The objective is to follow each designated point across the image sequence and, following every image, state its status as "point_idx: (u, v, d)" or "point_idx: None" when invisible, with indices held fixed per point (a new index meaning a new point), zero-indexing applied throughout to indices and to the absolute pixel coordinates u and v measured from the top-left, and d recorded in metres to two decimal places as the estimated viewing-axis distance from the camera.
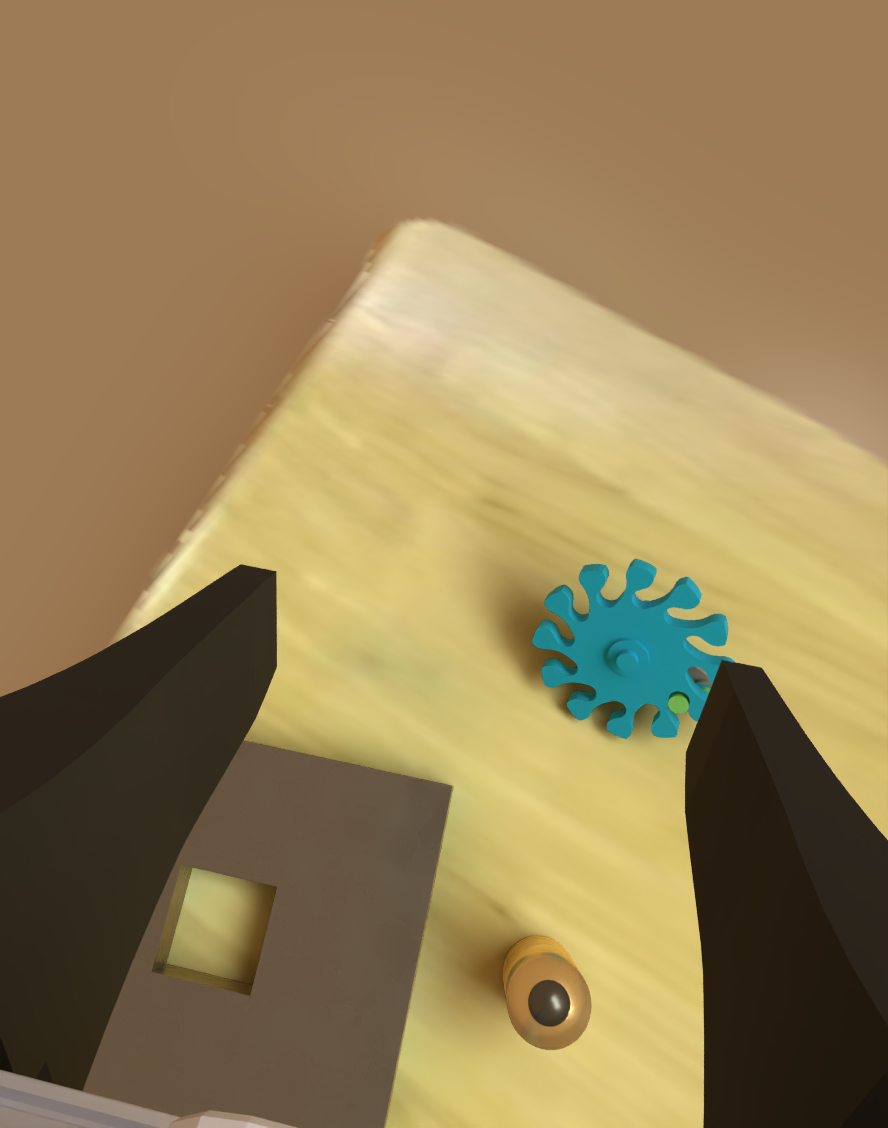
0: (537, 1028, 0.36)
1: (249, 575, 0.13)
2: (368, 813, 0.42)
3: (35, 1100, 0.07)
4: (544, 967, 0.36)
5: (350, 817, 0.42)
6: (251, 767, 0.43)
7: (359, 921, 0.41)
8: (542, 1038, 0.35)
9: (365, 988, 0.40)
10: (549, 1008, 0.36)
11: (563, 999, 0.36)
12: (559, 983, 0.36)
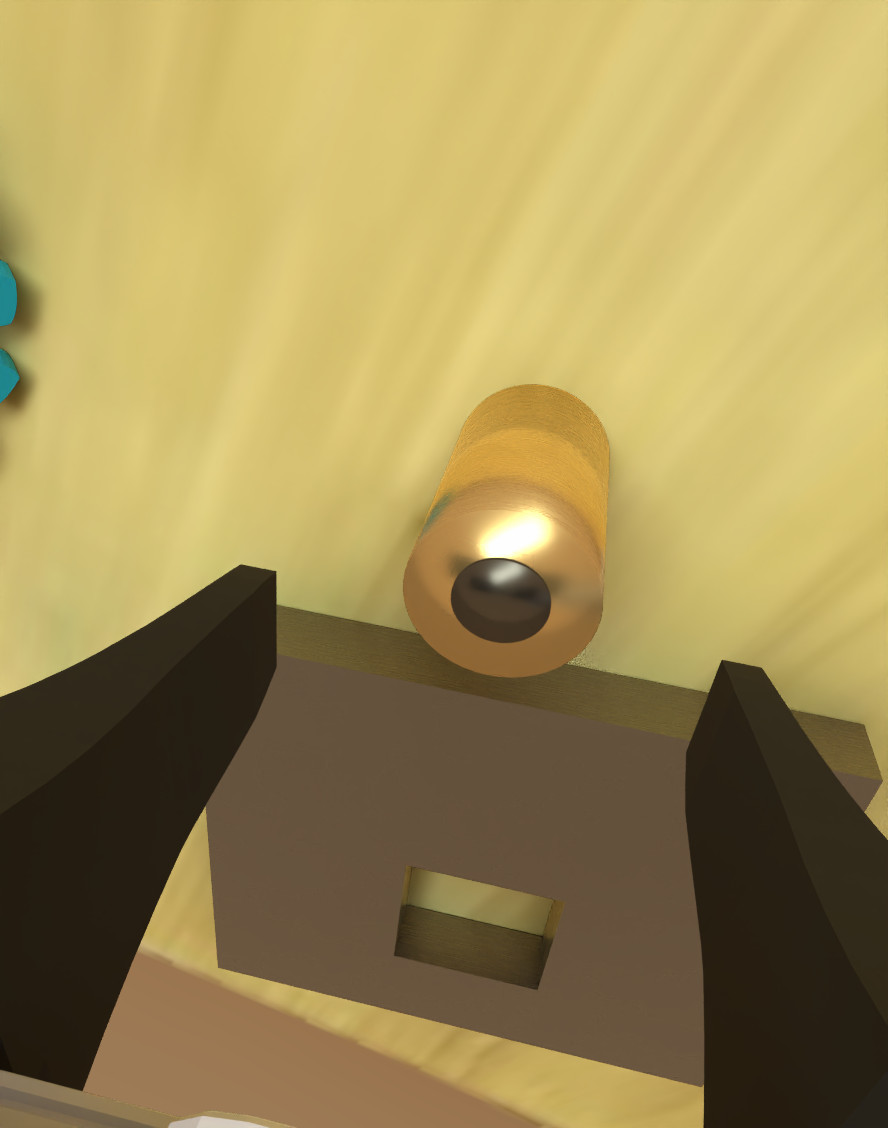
0: (557, 625, 0.15)
1: (249, 575, 0.13)
2: (271, 754, 0.24)
3: (35, 1100, 0.07)
4: (426, 604, 0.15)
5: (284, 776, 0.25)
6: (245, 881, 0.28)
7: (442, 774, 0.23)
8: (578, 616, 0.15)
9: (548, 771, 0.23)
10: (511, 603, 0.15)
11: (492, 570, 0.15)
12: (456, 576, 0.15)
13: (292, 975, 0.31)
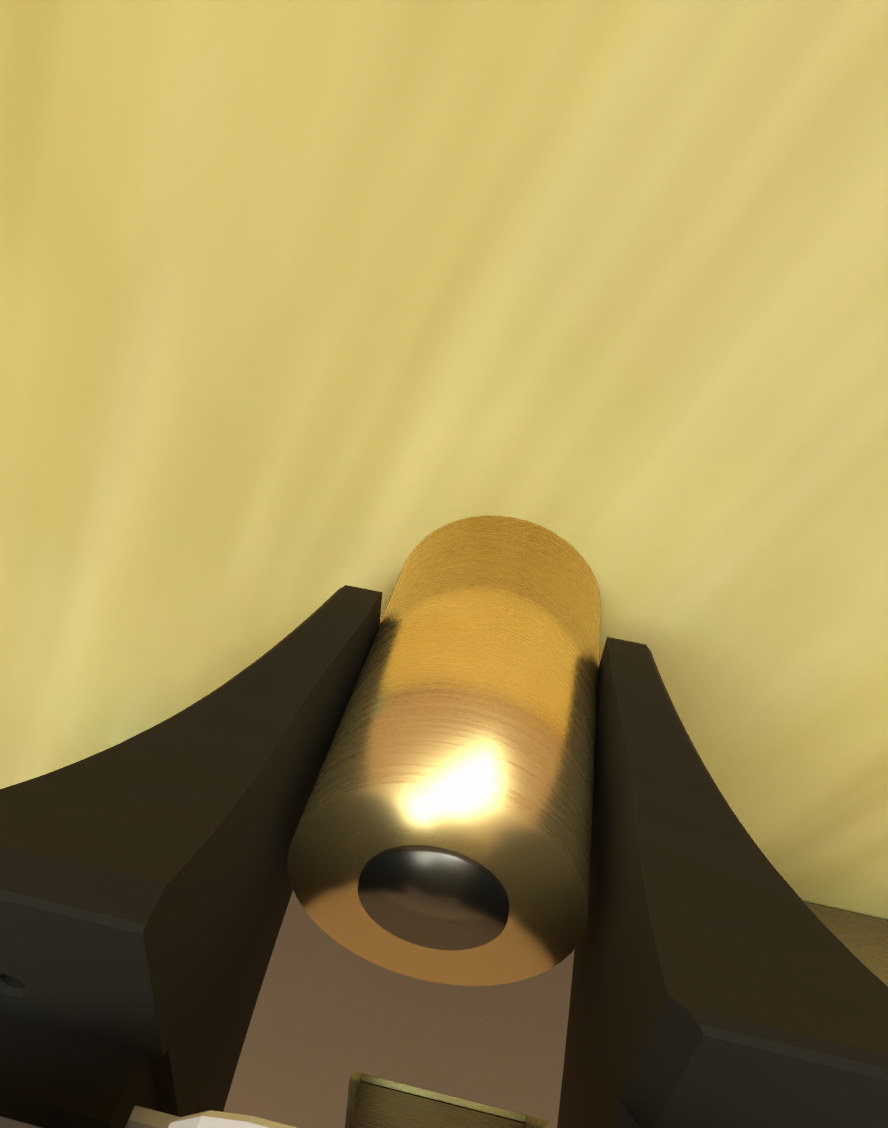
0: (519, 931, 0.10)
1: (358, 596, 0.13)
2: None
3: None
4: (324, 893, 0.10)
5: None
6: None
7: (389, 982, 0.18)
8: (551, 924, 0.10)
9: (523, 987, 0.18)
10: (448, 905, 0.10)
11: (417, 860, 0.10)
12: (365, 865, 0.10)
13: None
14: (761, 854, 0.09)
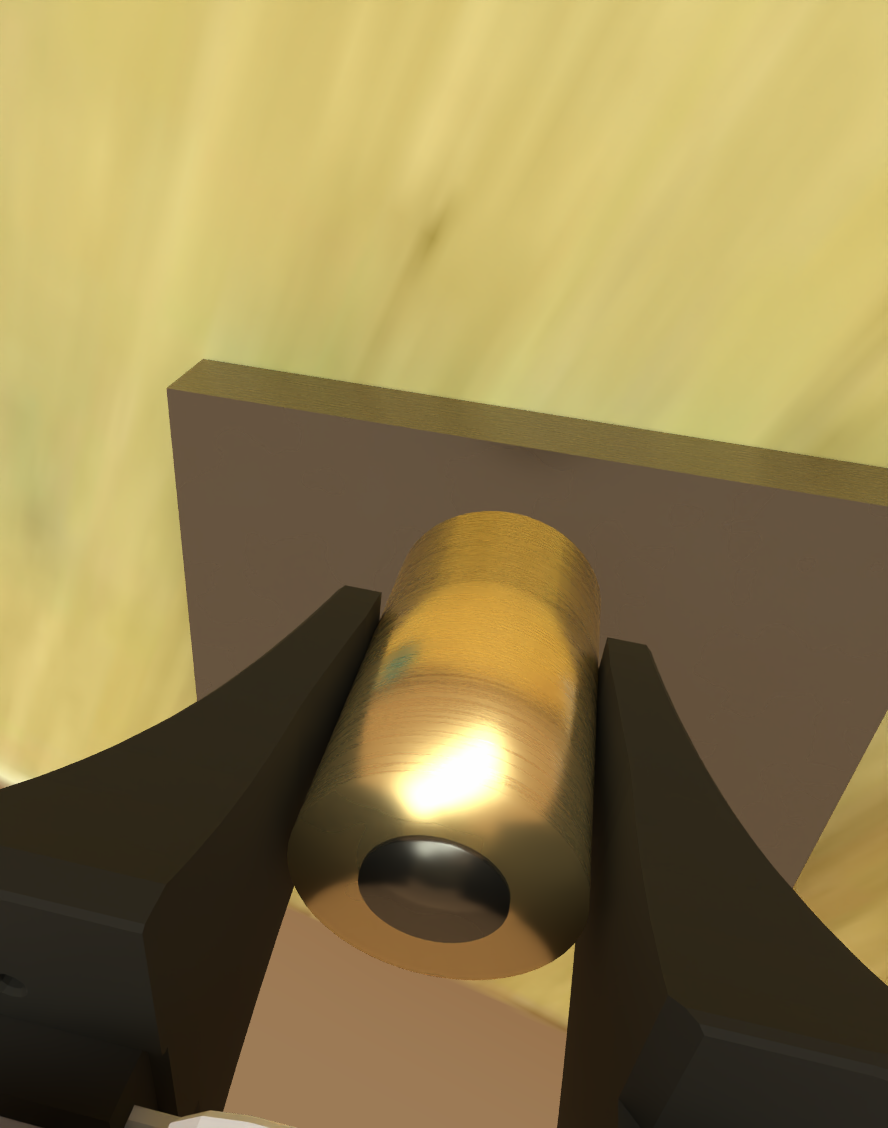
0: (520, 923, 0.10)
1: (358, 596, 0.13)
2: (262, 546, 0.21)
3: None
4: (324, 885, 0.10)
5: (277, 576, 0.21)
6: None
7: None
8: (552, 915, 0.10)
9: (584, 543, 0.19)
10: (449, 896, 0.10)
11: (418, 851, 0.10)
12: (365, 856, 0.10)
13: None
14: (761, 854, 0.09)
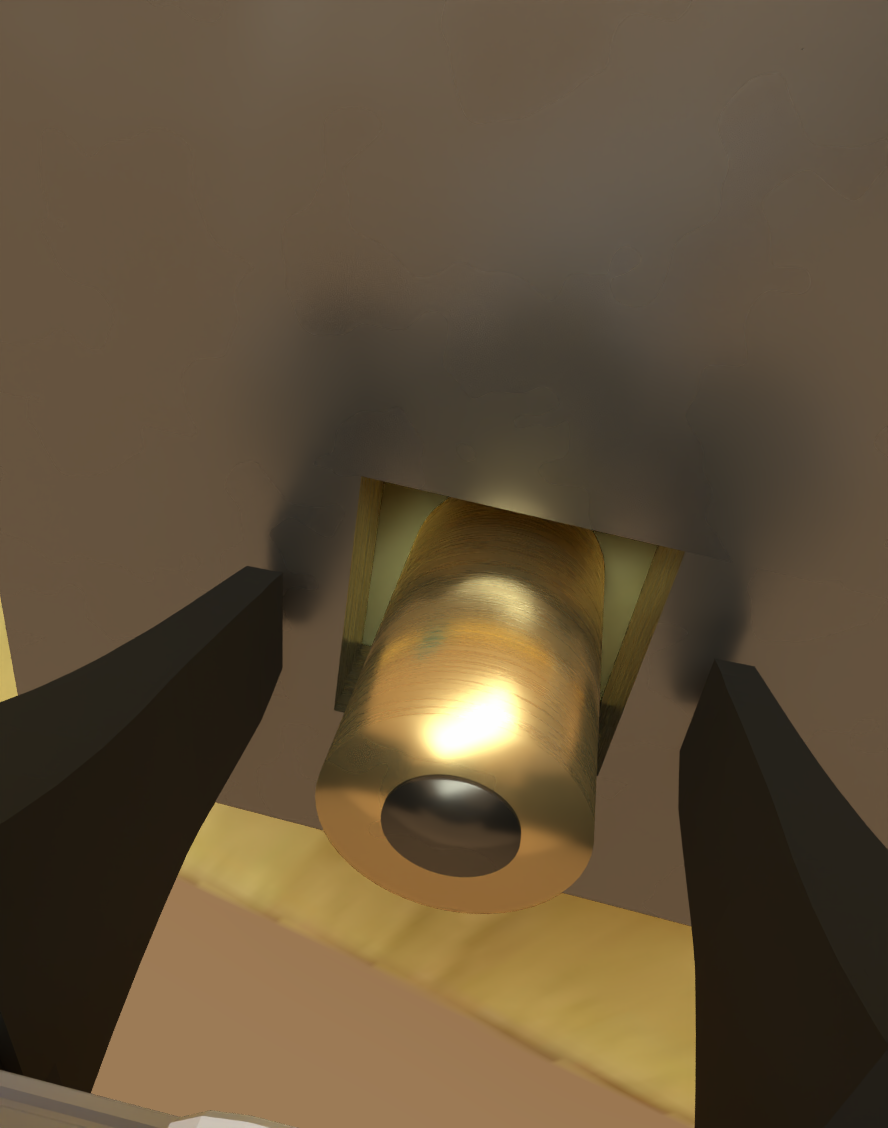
0: (531, 857, 0.11)
1: (256, 576, 0.13)
2: (72, 162, 0.11)
3: (35, 1100, 0.07)
4: (349, 824, 0.11)
5: (103, 233, 0.11)
6: (54, 547, 0.15)
7: (450, 178, 0.10)
8: (560, 849, 0.11)
9: (705, 137, 0.10)
10: (464, 832, 0.11)
11: (436, 790, 0.10)
12: (387, 795, 0.11)
13: None
14: None
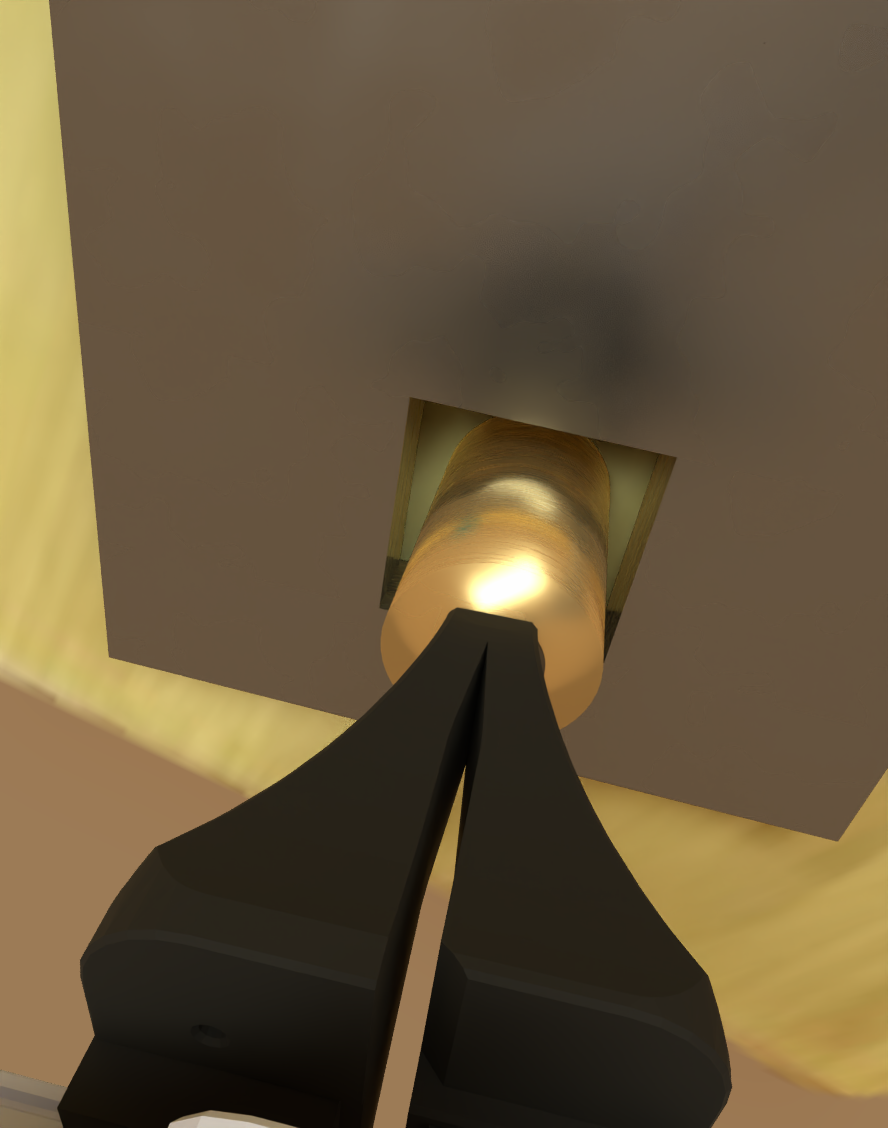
0: (552, 687, 0.13)
1: (473, 619, 0.13)
2: (184, 135, 0.14)
3: (35, 1100, 0.07)
4: (407, 664, 0.14)
5: (206, 193, 0.14)
6: (145, 465, 0.17)
7: (490, 146, 0.13)
8: (576, 678, 0.13)
9: (690, 112, 0.12)
10: None
11: None
12: None
13: (220, 663, 0.20)
14: (592, 817, 0.09)
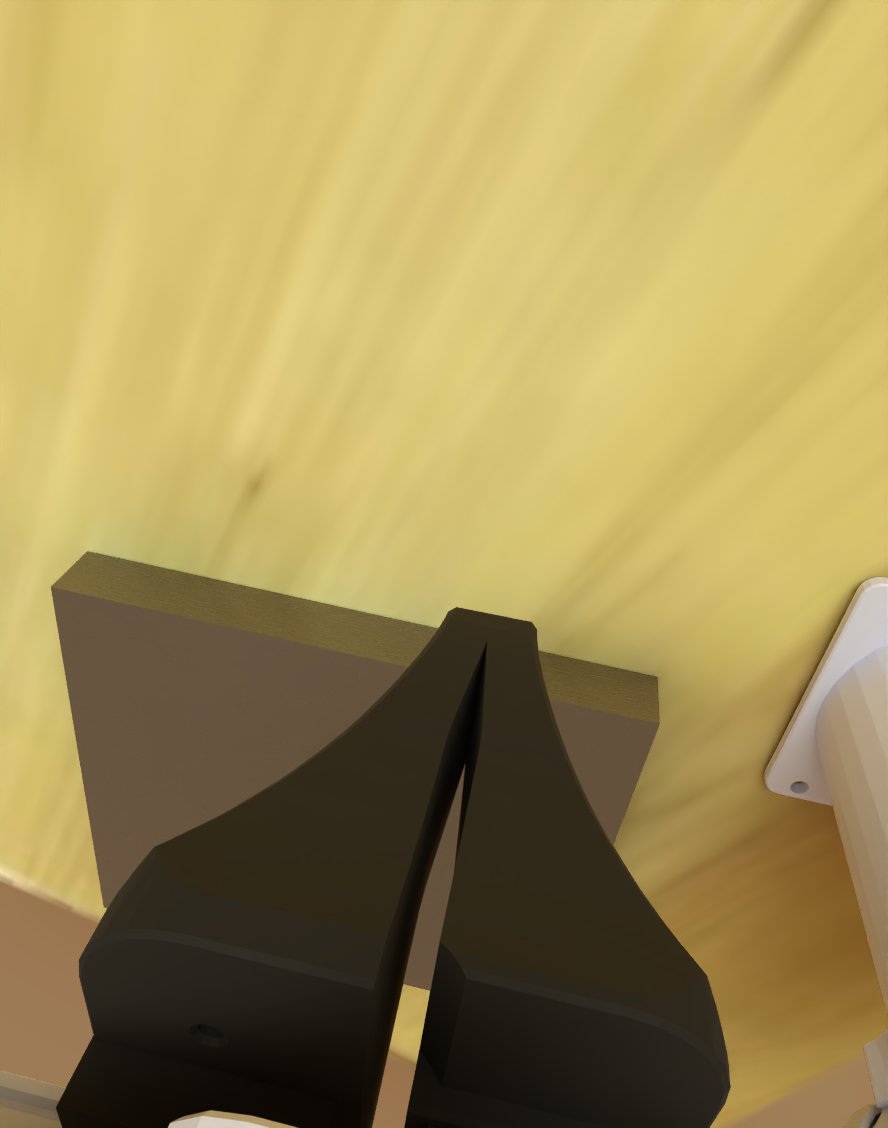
0: None
1: (472, 619, 0.13)
2: (131, 699, 0.27)
3: (35, 1100, 0.07)
4: None
5: (144, 720, 0.27)
6: (120, 822, 0.30)
7: (282, 718, 0.26)
8: None
9: None
10: None
11: None
12: None
13: None
14: (591, 817, 0.09)
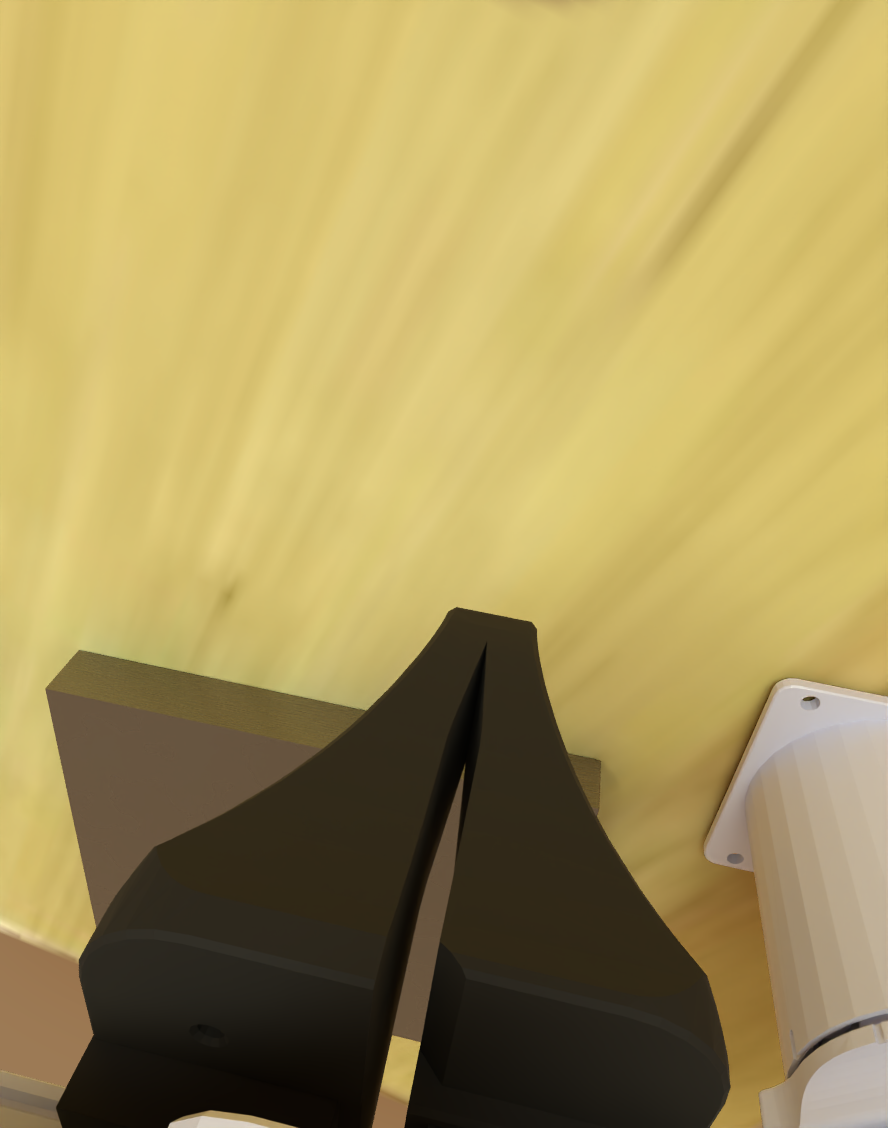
0: None
1: (473, 619, 0.13)
2: (122, 784, 0.29)
3: (35, 1100, 0.07)
4: None
5: (134, 802, 0.29)
6: (116, 889, 0.33)
7: None
8: None
9: None
10: None
11: None
12: None
13: None
14: (591, 817, 0.09)
